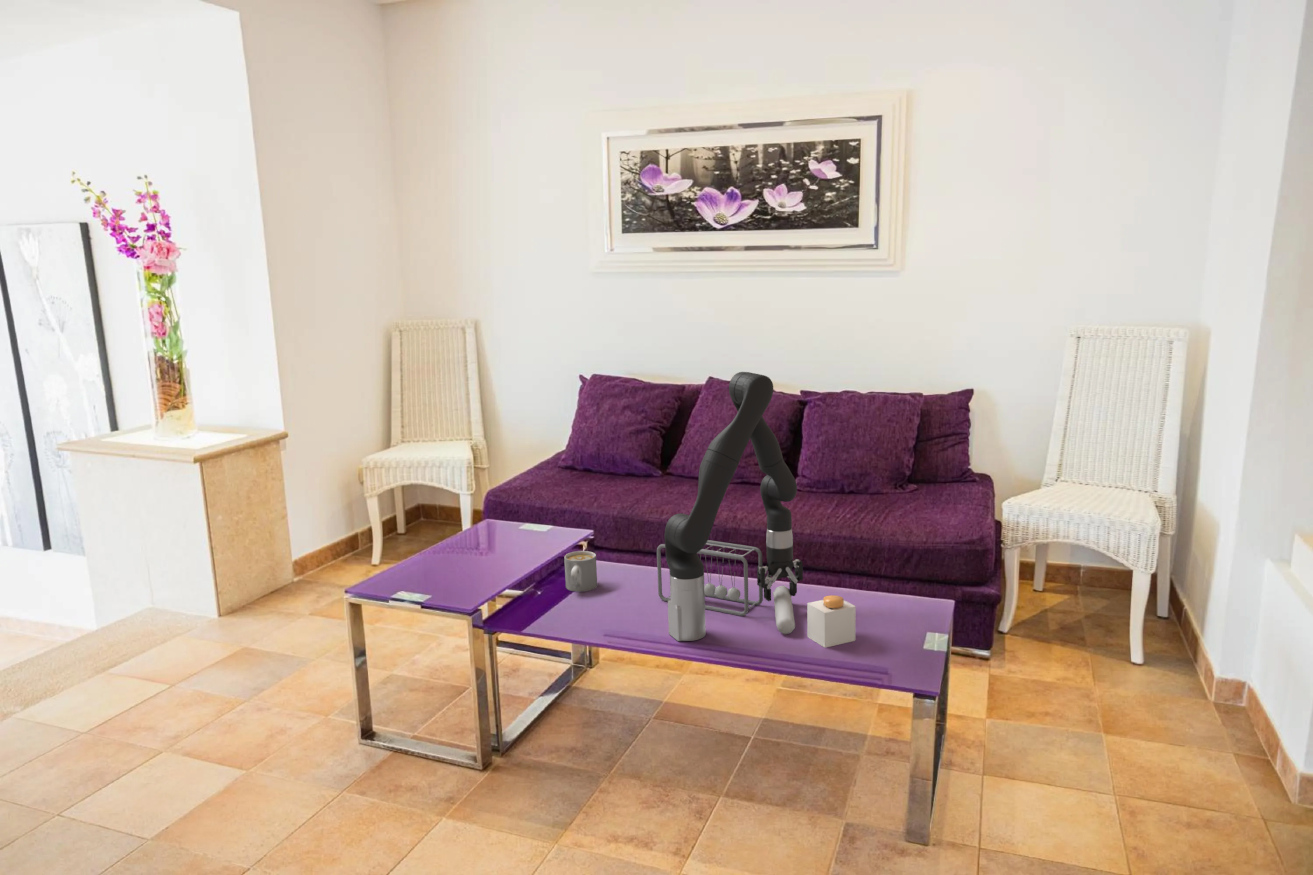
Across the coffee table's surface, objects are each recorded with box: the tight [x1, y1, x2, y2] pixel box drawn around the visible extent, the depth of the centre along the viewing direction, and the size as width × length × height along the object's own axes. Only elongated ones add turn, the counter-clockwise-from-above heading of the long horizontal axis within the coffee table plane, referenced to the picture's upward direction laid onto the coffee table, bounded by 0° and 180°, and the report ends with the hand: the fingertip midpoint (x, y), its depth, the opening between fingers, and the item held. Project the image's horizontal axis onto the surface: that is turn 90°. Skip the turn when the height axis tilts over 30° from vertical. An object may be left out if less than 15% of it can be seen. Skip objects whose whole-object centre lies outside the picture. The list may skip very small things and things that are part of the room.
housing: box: [806, 599, 857, 649], centre depth 237 cm, size 10×8×10 cm
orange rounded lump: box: [822, 594, 844, 610], centre depth 236 cm, size 5×5×4 cm
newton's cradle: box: [656, 539, 764, 617], centre depth 265 cm, size 30×10×18 cm, turn 58°
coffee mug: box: [563, 550, 598, 593], centre depth 283 cm, size 13×10×10 cm
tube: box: [772, 585, 796, 635], centre depth 252 cm, size 5×5×25 cm
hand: (780, 597), depth 261 cm, fingers open, 7 cm apart
